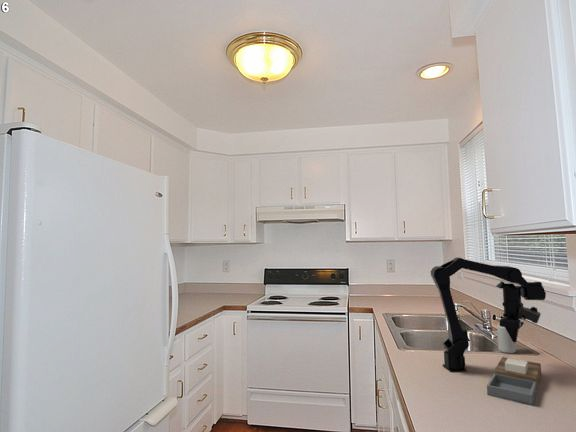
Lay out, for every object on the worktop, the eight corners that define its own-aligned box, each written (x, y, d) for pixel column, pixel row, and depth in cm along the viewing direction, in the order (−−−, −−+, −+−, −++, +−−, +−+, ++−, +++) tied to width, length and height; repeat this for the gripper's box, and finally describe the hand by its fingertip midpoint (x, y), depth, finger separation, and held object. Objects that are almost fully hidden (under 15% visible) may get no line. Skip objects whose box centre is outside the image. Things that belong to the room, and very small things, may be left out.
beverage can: (518, 354, 149) (516, 325, 150) (502, 353, 150) (500, 325, 151) (512, 349, 155) (510, 321, 156) (496, 349, 157) (494, 321, 157)
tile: (525, 374, 119) (525, 366, 119) (505, 370, 123) (504, 362, 123) (527, 368, 124) (527, 361, 124) (508, 365, 128) (507, 358, 128)
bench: (536, 390, 116) (535, 378, 116) (495, 381, 123) (494, 370, 124) (541, 374, 128) (540, 363, 128) (503, 367, 136) (502, 357, 136)
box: (532, 405, 106) (531, 395, 106) (487, 394, 114) (486, 385, 114) (536, 391, 115) (535, 381, 116) (494, 382, 123) (494, 373, 123)
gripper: (535, 306, 121) (538, 353, 120) (540, 298, 135) (543, 339, 134) (498, 303, 128) (500, 347, 127) (506, 295, 142) (509, 334, 142)
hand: (514, 341), depth 132 cm, fingers closed
